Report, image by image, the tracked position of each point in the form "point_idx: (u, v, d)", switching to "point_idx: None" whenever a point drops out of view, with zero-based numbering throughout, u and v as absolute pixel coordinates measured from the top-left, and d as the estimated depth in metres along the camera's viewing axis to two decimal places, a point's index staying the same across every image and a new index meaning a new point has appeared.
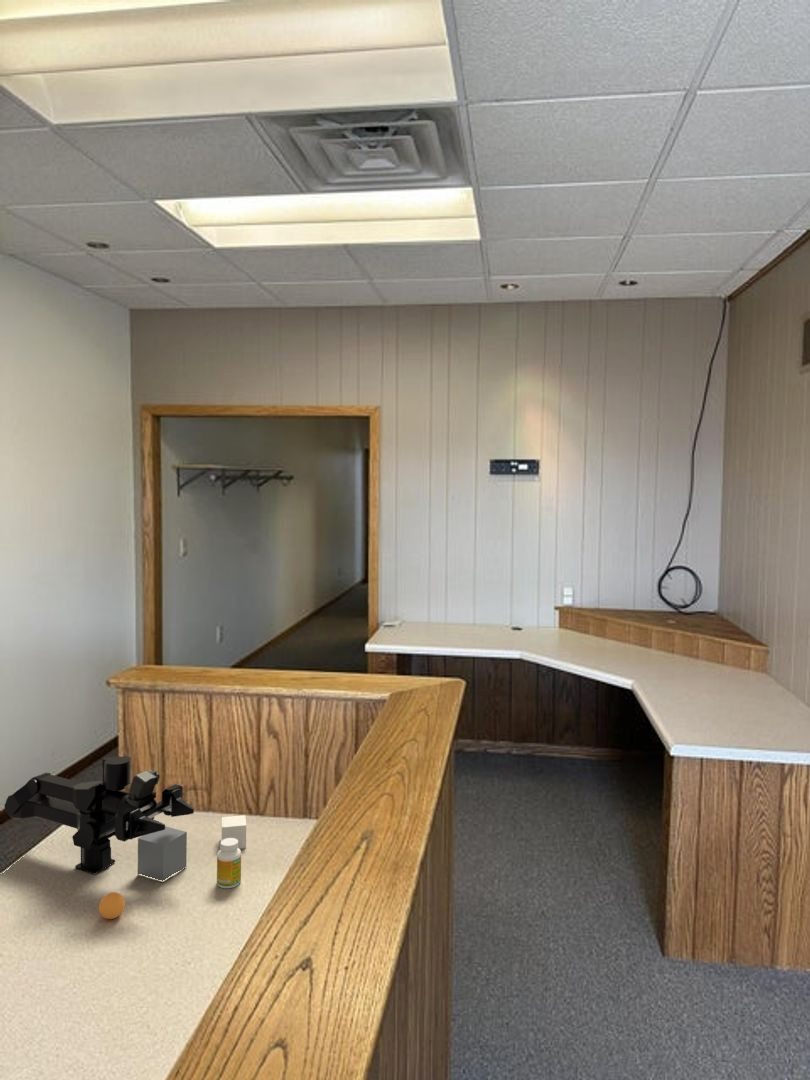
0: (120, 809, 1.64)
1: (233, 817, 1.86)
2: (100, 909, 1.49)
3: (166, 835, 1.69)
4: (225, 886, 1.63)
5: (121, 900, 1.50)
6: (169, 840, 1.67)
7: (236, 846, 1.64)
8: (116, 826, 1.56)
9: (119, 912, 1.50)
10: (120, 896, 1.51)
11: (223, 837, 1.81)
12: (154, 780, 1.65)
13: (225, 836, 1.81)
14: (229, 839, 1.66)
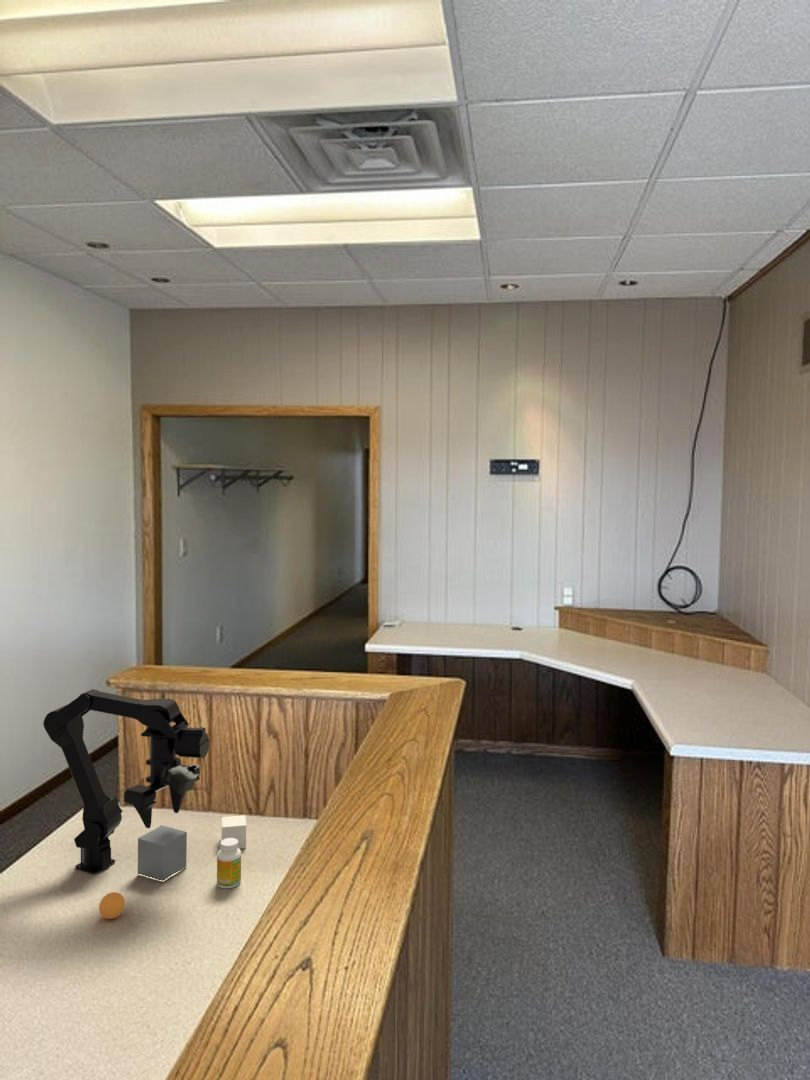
0: (155, 762, 1.66)
1: (233, 817, 1.86)
2: (100, 909, 1.49)
3: (166, 835, 1.69)
4: (225, 886, 1.63)
5: (121, 900, 1.50)
6: (169, 840, 1.67)
7: (236, 846, 1.64)
8: (133, 796, 1.60)
9: (119, 912, 1.50)
10: (120, 896, 1.51)
11: (223, 837, 1.81)
12: None
13: (225, 836, 1.81)
14: (229, 839, 1.66)
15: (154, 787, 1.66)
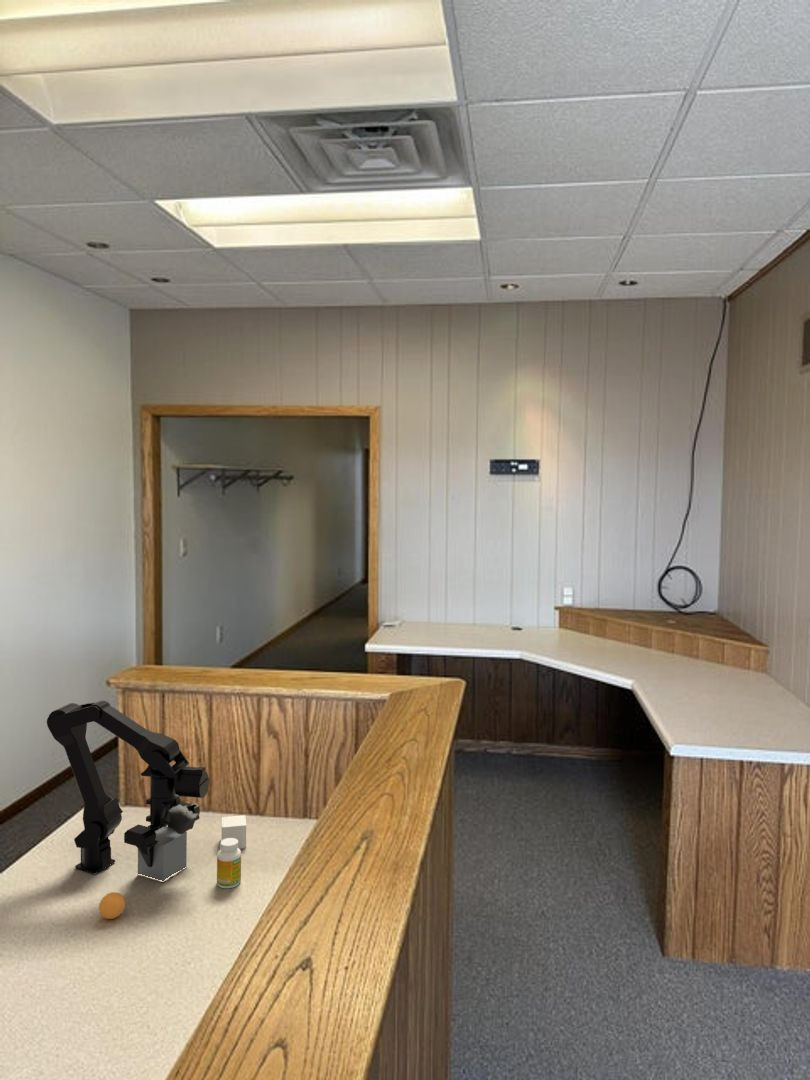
0: (154, 802, 1.66)
1: (233, 817, 1.86)
2: (100, 909, 1.49)
3: (166, 835, 1.69)
4: (225, 886, 1.63)
5: (121, 900, 1.50)
6: (169, 840, 1.67)
7: (236, 846, 1.64)
8: (133, 837, 1.61)
9: (119, 912, 1.50)
10: (120, 896, 1.51)
11: (223, 837, 1.81)
12: None
13: (225, 836, 1.81)
14: (229, 839, 1.66)
15: (154, 827, 1.66)
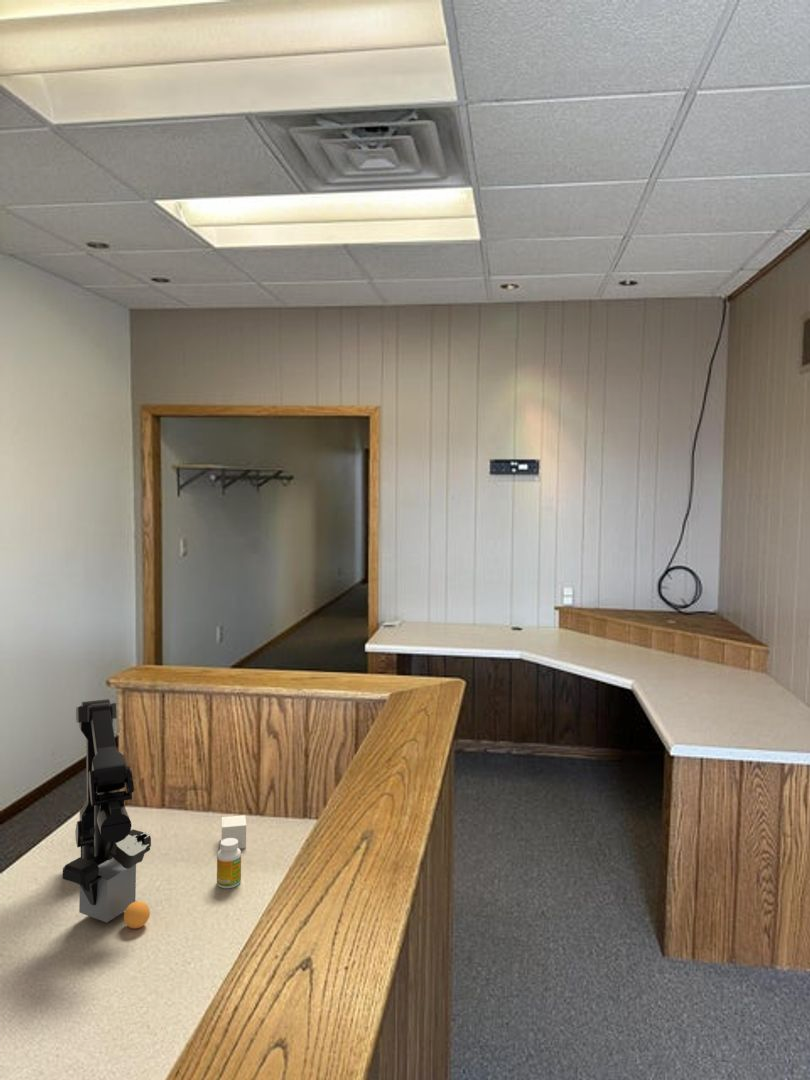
0: (99, 832, 1.48)
1: (233, 817, 1.86)
2: (130, 921, 1.45)
3: (112, 868, 1.50)
4: (225, 886, 1.63)
5: None
6: (115, 874, 1.48)
7: (236, 846, 1.64)
8: (72, 873, 1.42)
9: None
10: None
11: (223, 837, 1.81)
12: None
13: (225, 836, 1.81)
14: (229, 839, 1.66)
15: (98, 860, 1.47)
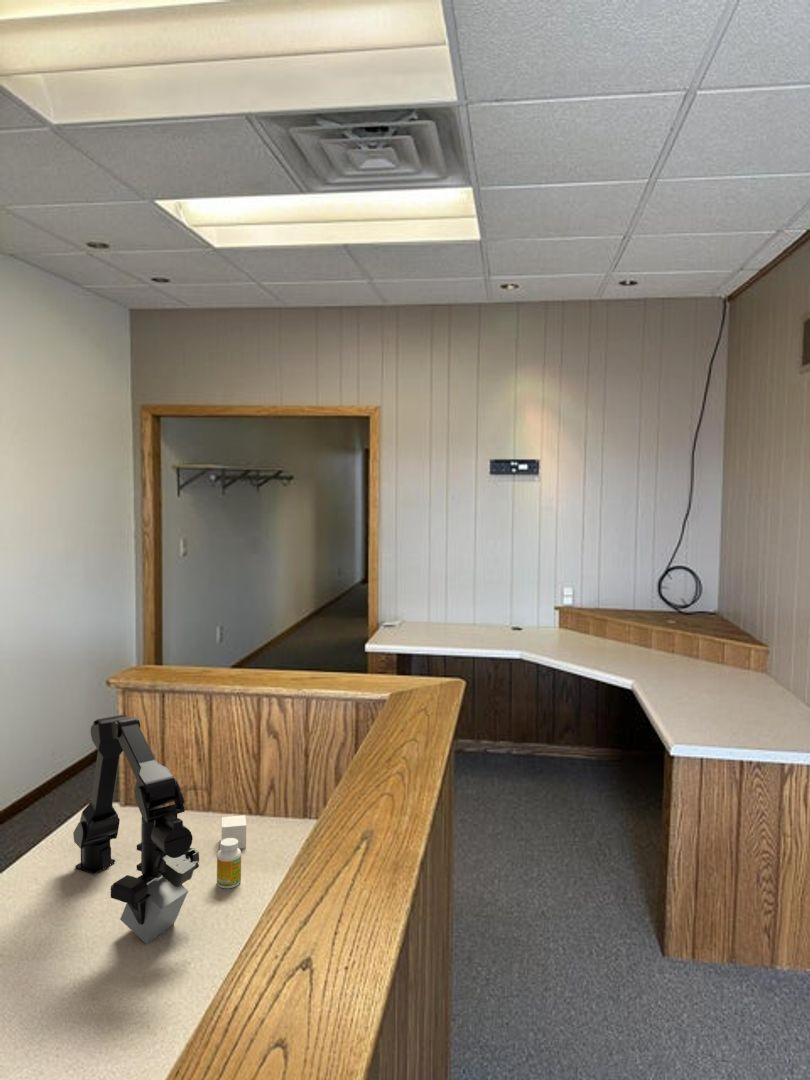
0: (147, 849, 1.42)
1: (233, 817, 1.86)
2: None
3: (165, 890, 1.45)
4: (225, 886, 1.63)
5: None
6: (168, 901, 1.43)
7: (236, 846, 1.64)
8: (121, 892, 1.37)
9: None
10: None
11: (223, 837, 1.81)
12: None
13: (225, 836, 1.81)
14: (229, 839, 1.66)
15: (146, 878, 1.42)
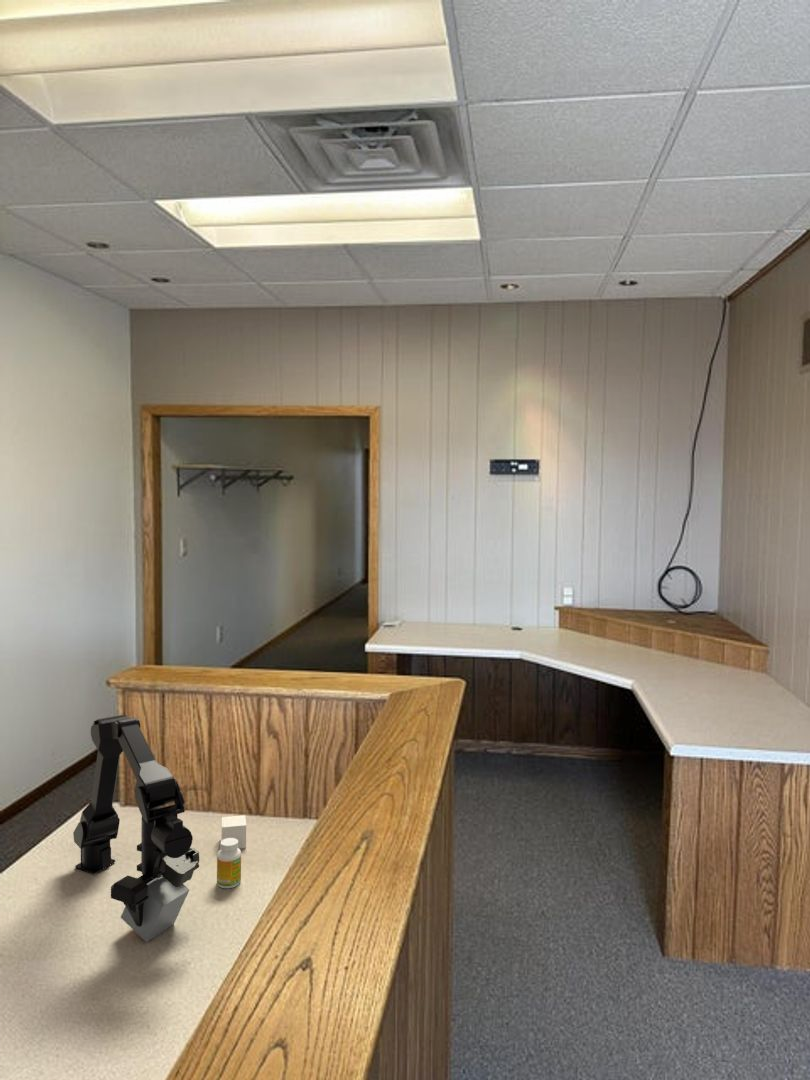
0: (147, 849, 1.42)
1: (233, 817, 1.86)
2: None
3: (166, 888, 1.45)
4: (225, 886, 1.63)
5: None
6: (169, 899, 1.43)
7: (236, 846, 1.64)
8: (121, 892, 1.37)
9: None
10: None
11: (223, 837, 1.81)
12: None
13: (225, 836, 1.81)
14: (229, 839, 1.66)
15: (146, 878, 1.42)
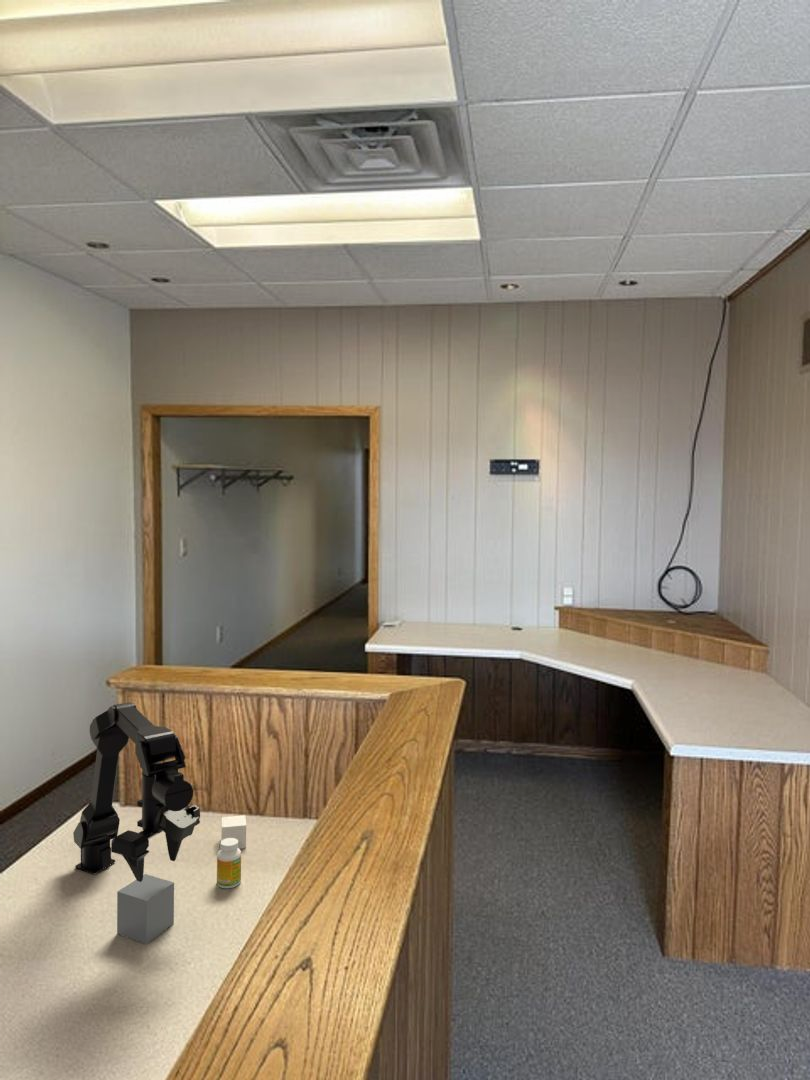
0: (147, 804, 1.42)
1: (233, 817, 1.86)
2: None
3: (150, 887, 1.46)
4: (225, 886, 1.63)
5: None
6: (153, 894, 1.44)
7: (236, 846, 1.64)
8: (121, 845, 1.36)
9: None
10: None
11: (223, 837, 1.81)
12: None
13: (225, 836, 1.81)
14: (229, 839, 1.66)
15: (147, 833, 1.42)
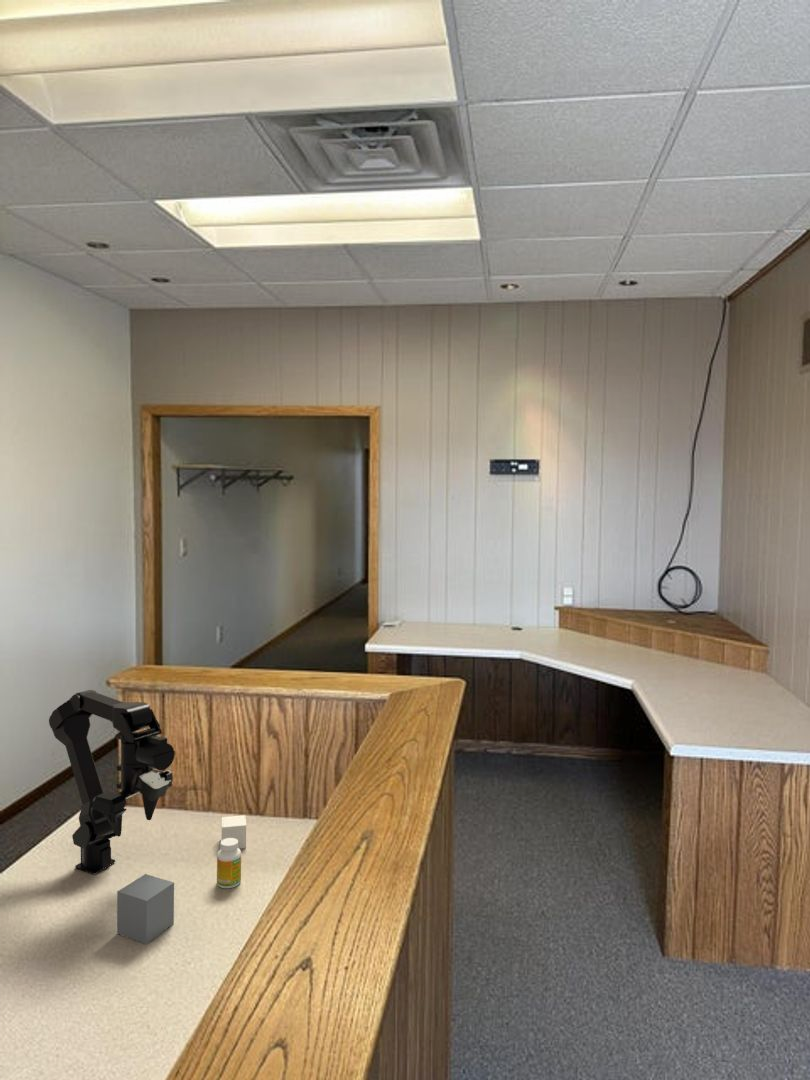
0: (125, 768, 1.60)
1: (233, 817, 1.86)
2: None
3: (150, 887, 1.46)
4: (225, 886, 1.63)
5: None
6: (153, 894, 1.44)
7: (236, 846, 1.64)
8: (101, 803, 1.55)
9: None
10: None
11: (223, 837, 1.81)
12: None
13: (225, 836, 1.81)
14: (229, 839, 1.66)
15: (125, 794, 1.60)
